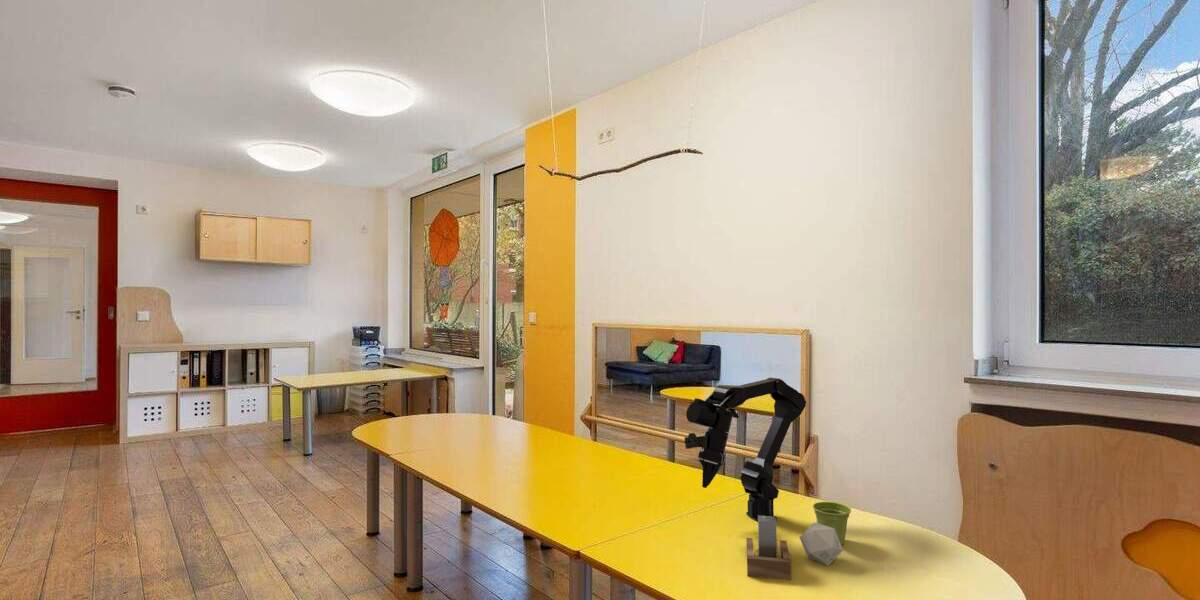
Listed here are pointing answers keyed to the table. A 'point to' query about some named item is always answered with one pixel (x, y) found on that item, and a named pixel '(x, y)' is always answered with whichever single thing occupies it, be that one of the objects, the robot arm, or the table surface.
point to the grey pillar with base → (767, 536)
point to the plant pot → (833, 517)
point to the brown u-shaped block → (768, 563)
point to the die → (821, 543)
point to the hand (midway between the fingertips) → (705, 486)
